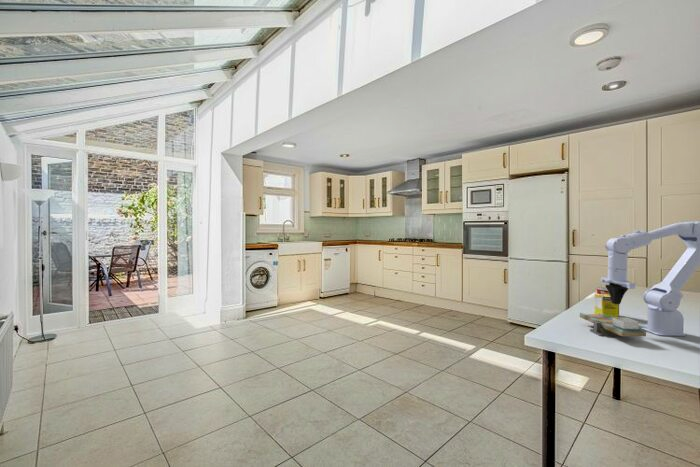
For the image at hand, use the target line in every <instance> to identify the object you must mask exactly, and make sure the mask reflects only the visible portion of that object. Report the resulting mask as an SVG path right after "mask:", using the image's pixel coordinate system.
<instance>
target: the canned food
mask: <svg viewBox="0 0 700 467" xmlns="http://www.w3.org/2000/svg"><path fill="white" fill-rule="evenodd" d="M596 294H609V291H608V290H607V288H606V287H605V286H603V287H602V286H601V287H597V288H596ZM618 317H620V304H618Z"/></svg>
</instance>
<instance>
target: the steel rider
mask: <svg viewBox="0 0 700 467" xmlns="http://www.w3.org/2000/svg"><path fill="white" fill-rule="evenodd" d="M639 324H640V322H639V321H638V320H634V319H633V318H630V317H626V316H625V317H622V316H619V317H613V327H616V328H618V329H620V330H626V331H639V329H640V328H639V326H640V325H639Z"/></svg>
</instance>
